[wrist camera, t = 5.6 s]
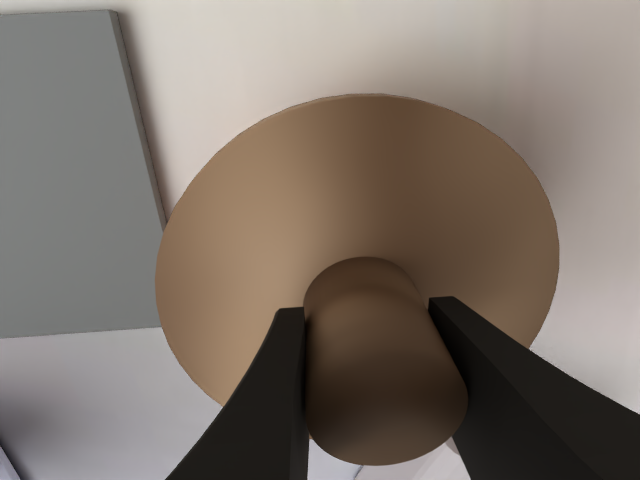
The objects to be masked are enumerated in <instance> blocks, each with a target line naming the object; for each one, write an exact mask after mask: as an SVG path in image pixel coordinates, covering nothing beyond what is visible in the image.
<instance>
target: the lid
mask: <svg viewBox="0 0 640 480" xmlns="http://www.w3.org/2000/svg"><path fill="white" fill-rule="evenodd" d="M558 272H559V240H558V233H557V226H556V221H555V218H554V215H553V212H552V209H551V206H550V203H549V200H548V198H547V196H546V194H545V192H544V190H543V188H542V186H541V184H540V182H539V181H538V179H537V177H536V176H535V175H534V173H533V172H532V171H531V169H530V168H529V167H528V165H527V164H526V163H525V161H524V160H523V159H522V157H521V156H519V155H518V154H517V153H516V152H515V151H514V150H513V149H512V148H511V147H510V146H509V145H508V144H507V143H506V142H505V141H503V140H502V139H501V138H500V137H498V136H497V135H495V134H494V133H492V132H491V131H489V130H488V129H486V128H485V127H483V126H482V125H480V124H479V123H477V122H475V121H473V120H471V119H468V118H466V117H464V116H462V115H460V114H458V113H455V112H453V111H451V110H449V109H446V108H443V107H441V106H438V105H434V104H431V103H427V102H424V101H420V100H417V99H413V98H409V97H402V96H395V95H387V94H346V95H339V96H332V97H326V98H319V99H316V100H313V101H309V102H306V103H302V104H299V105H295V106H292V107H289V108H287V109H285V110H283V111H280V112H278V113H276V114H274V115H271V116H269V117H267V118H265V119H263V120H261V121H259V122H258V123H256V124H255V125H253V126H251V127H250V128H248V129H247V130H245V131H243V132H242V133H240V134H239V135H237V136H236V137H235V138H234V139H232V140H231V141H230V142H229V143H228V144H227V145H225V146H224V147H223V148H222V149H221V150H219V151H218V152H217V153H216V154H215V155H214V156H213V157H212V158H211V160H210V161H209V162H208V163H207V164H206V165H205V166H204V167H203V169H202V170H201V171H200V172H199V173H198V174H197V175H196V177H195V178H194V179H193V180H192V182H191V183H190V184H189V186H188V187H187V189H186V190H185V192H184V194H183V195H182V197H181V198H180V200H179V201H178V203H177V204H176V206H175V207H174V210H173V212H172V214H171V216H170V219H169V221H168V223H167V225H166V228H165V230H164V232H163V236H162V240H161V243H160V247H159V251H158V255H157V262H156V272H155V293H156V305H157V309H158V314H159V318H160V323H161V326H162V329H163V331H164V334H165V336H166V339H167V342H168V344H169V346H170V348H171V350H172V351H173V353H174V355H175V357H176V358H177V360H178V362H179V364H180V365H181V366H182V367H183V369H184V370H185V371H186V372H187V374H188V375H189V376H190V378H191V379H192V380H193V381H194V382H195V383H196V384H197V385H198V386H199V387H200V388H201V389H202V390H203V391H204V392H205V393H206V394H207V395H208V396H210V397H211V398H212V399H214V400H215V401H216V402H218V403H219V404H220V405H221V406H223V407H224V405H225V404H226V402H227V401H228V400H229V398H230V396H231V395H232V393H233V392H234V390H235V389H236V387H237V386H238V384H239V382H240V381H241V379H242V378H243V376H244V375H245V373H246V371H247V370H248V368H249V366H250V364H251V363H252V361H253V359H254V357H255V355H256V354H257V352H258V350H259V348H260V346H261V344H262V342H263V340H264V338H265V336H266V334H267V332H268V330H269V328H270V326H271V323H272V321H273V318H274V315H275V312H276V311H277V310H278V309H279V308H290V307H304V313H305V332H306V361H305V408H306V424H307V428H308V431H309V439H313V440H314V441H315V442H316V444H317V445H318V446H319V447H320V448H322V449H323V450H324V451H325V452H327V453H328V454H330V455H332V456H333V457H336V458H338V459H340V460H343V461H346V462H349V463H353V464H358V465H366V466H385V465H393V464H399V463H403V462H407V461H410V460H413V459H416V458H419V457H421V456H424V455H426V454H427V453H429V452H431V451H433V450H435V449H436V448H438V447H439V446H441V445H442V444H443V443H445V442H446V441H447V440H448V439H449V438H450V437H451V436H452V435H453V434H454V433H455V432H456V430H457V429H458V428H459V426H460V425H461V423H462V421H463V419H464V417H465V415H466V412H467V407H468V392H467V388H466V385H465V383H464V381H463V379H462V377H461V375H460V373H459V371H458V369H457V367H456V365H455V363H454V361H453V359H452V357H451V355H450V353H449V351H448V349H447V347H446V345H445V343H444V341H443V339H442V338H441V336H440V334H439V332H438V330H437V328H436V326H435V324H434V322H433V320H432V318H431V316H430V314H429V312H428V303H429V298H431V297H445V296H454V297H455V298H457V299H458V300H460V301H461V302H463V303H464V304H466V305H467V306H468V307H470V308H471V309H472V310H474V311H475V312H477V313H478V314H479V315H481V316H482V317H483V318H485V319H486V320H488V321H489V322H490V323H492V324H493V325H494V326H496V327H497V328H499V329H500V330H501V331H503V332H504V333H506V334H507V335H508V336H510V337H511V338H513V339H514V340H516V341H517V342H518V343H520V344H521V345H523V346H524V347H526V348H527V349H529V347H530V345H531V344H532V342H533V341H534V339H535V338H536V336H537V334H538V333H539V331H540V329H541V327H542V325H543V323H544V320H545V318H546V316H547V314H548V312H549V309H550V306H551V303H552V300H553V296H554V293H555V290H556V284H557V278H558Z"/></svg>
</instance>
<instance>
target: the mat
mask: <svg viewBox="0 0 640 480" xmlns="http://www.w3.org/2000/svg"><path fill="white" fill-rule="evenodd" d="M166 225H167V223H166V219H165V215H164V210H163V206H162V202H161V198H160V194H159V189H158V185H157V181H156V177H155V172H154V168H153V164H152V160H151V156H150V151H149V147H148V143H147V139H146V134H145V130H144V126H143V122H142V118H141V113H140V109H139V105H138V101H137V96H136V92H135V88H134V84H133V80H132V75H131V71H130V67H129V63H128V58H127V54H126V50H125V46H124V42H123V37H122V33H121V29H120V25H119V20H118V16H117V12H115V11H111V10H95V11H74V12H52V13H31V14H10V15H0V339H1V338H15V337H29V336H42V335H56V334H70V333H84V332H98V331H112V330H126V329H140V328H154V327H162V326H161V323H160V318H159V314H158V309H157V305H156V293H155V272H156V262H157V255H158V251H159V247H160V243H161V240H162V236H163V232H164V230H165V228H166Z"/></svg>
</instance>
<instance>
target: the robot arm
mask: <svg viewBox="0 0 640 480" xmlns="http://www.w3.org/2000/svg"><path fill="white" fill-rule="evenodd" d="M428 312H429V314H430V316H431V318H432V320H433V322H434V324H435V326H436V328H437V330H438V332H439V334H440V336H441V338H442V339H443V341H444V343H445V345H446V347H447V349H448V351H449V353H450V355H451V357H452V359H453V361H454V363H455V365H456V367H457V369H458V371H459V373H460V375H461V377H462V379H463V381H464V383H465V385H466V388H467V392H468V407H467V412H466V415H465V417H464V419H463V421H462V423H461V425H460V426H459V428H458V429H457V430H456V432H455V433H454V434H453V435H452V439H453V441H454V443H455V445H456V447H457V450H458V452H459V454H460V456H461V459H462V461H463V463H464V465H465V468H466V470H467V472H468V474H469V477H470V479H471V480H640V415H639V414H638V413H636V412H634V411H632V410H630V409H628V408H626V407H624V406H622V405H620V404H619V403H617V402H615V401H613V400H611V399H610V398H608V397H606V396H604V395H602V394H600V393H599V392H597V391H595V390H593V389H591V388H590V387H588V386H586V385H584V384H583V383H581V382H579V381H578V380H576V379H574V378H573V377H571V376H569V375H568V374H566V373H564V372H563V371H561V370H560V369H558V368H556V367H555V366H553V365H552V364H550V363H549V362H547V361H545V360H544V359H542V358H541V357H539V356H538V355H536V354H535V353H533V352H532V351H530V350H529V349H527V348H526V347H524V346H523V345H521V344H520V343H518V342H517V341H516V340H514V339H513V338H511V337H510V336H508V335H507V334H506V333H504V332H503V331H501V330H500V329H499V328H497V327H496V326H494V325H493V324H492V323H490V322H489V321H488V320H486V319H485V318H483V317H482V316H481V315H479V314H478V313H477V312H475V311H474V310H472V309H471V308H470V307H468V306H467V305H466V304H464V303H463V302H461V301H460V300H458V299H457V298H455V297H454V296H445V297H431V298H429V303H428ZM305 361H306V332H305V313H304V307H290V308H279V309H278V310H277V311H276V312H275V315H274V318H273V321H272V323H271V326H270V328H269V330H268V332H267V334H266V336H265V338H264V340H263V342H262V344H261V346H260V348H259V350H258V352H257V354H256V355H255V357H254V359H253V361H252V363H251V364H250V366H249V368H248V370H247V371H246V373H245V375H244V376H243V378H242V379H241V381H240V382H239V384H238V386H237V387H236V389H235V390H234V392H233V393H232V395H231V396H230V398H229V400H228V401H227V402H226V404H225V405H224V407H223V408H222V410H221V411H220V412H219V414H218V415H217V417H216V418H215V419H214V421H213V422H212V423H211V425H210V426H209V427H208V429H207V430H206V431H205V432H204V434H203V435H202V436H201V438H200V439H199V440H198V441H197V443H196V444H195V445H194V446H193V447H192V449H191V450H190V451H189V452H188V453H187V455H186V456H185V457H184V458H183V459H182V461H181V462H180V463H179V464H178V465H177V467H176V468H175V469H174V470H173V471H172V472H171V473H170V475H169V476H168V477H167V478H166V479H165V480H307V474H308V454H309V431H308V428H307V424H306V408H305ZM0 480H21V479H20V478H19V476H18V474H17V473H16V471H15V469H14V468H13V466H12V465H11V463H10V461H9V460H8V458H7V456H6V455H5V453H4V451H3V450H2V448H1V446H0Z"/></svg>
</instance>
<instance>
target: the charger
mask: <svg viewBox="0 0 640 480" xmlns="http://www.w3.org/2000/svg"><path fill="white" fill-rule="evenodd" d="M354 480H471V479H470V477H469V474H468V472H467V470H466V468H465V465H464V463H463V461H462V459H461V456H460V454H459V452H458V450H457V447H456V445H455V443H454V441H453V439H452V436H451V437H450V438H449V439H448V440H447V441H446V442H445V443H443V444H442V445H441V446H439V447H438V448H436V449H435V450H433V451H431V452H429V453H427V454H426V455H424V456H421V457H419V458H416V459H413V460H410V461H407V462H403V463H399V464H393V465H385V466H366V465H364V466H363V467H362V469H361V470H360V472H359V473H358V475H357V476H356V477H355V479H354Z"/></svg>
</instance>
